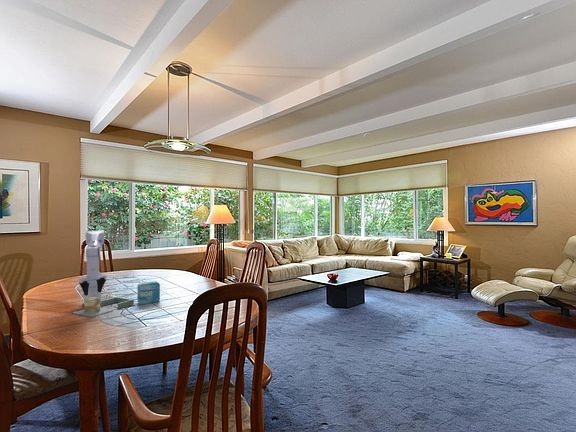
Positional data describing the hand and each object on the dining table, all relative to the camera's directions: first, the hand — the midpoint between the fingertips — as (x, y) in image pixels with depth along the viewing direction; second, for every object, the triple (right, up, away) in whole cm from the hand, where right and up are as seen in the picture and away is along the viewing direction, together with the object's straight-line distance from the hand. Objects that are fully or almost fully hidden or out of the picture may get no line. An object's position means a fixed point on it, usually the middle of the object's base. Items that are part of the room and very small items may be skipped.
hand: (92, 293), depth 172 cm
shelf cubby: (+6, -10, +13) cm, 17 cm away
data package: (+22, -11, +20) cm, 31 cm away
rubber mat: (0, -10, 0) cm, 10 cm away
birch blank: (0, -10, 0) cm, 10 cm away
